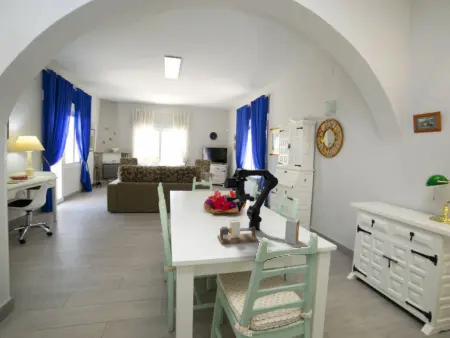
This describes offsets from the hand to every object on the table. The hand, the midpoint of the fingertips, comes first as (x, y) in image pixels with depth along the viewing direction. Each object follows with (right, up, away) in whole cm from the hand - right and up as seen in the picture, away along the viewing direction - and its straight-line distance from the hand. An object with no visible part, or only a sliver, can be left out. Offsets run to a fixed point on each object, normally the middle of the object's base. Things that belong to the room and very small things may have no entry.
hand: (239, 211), depth 154 cm
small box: (+30, -15, -14) cm, 37 cm away
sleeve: (-4, -10, -15) cm, 18 cm away
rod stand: (-2, -14, -14) cm, 20 cm away
